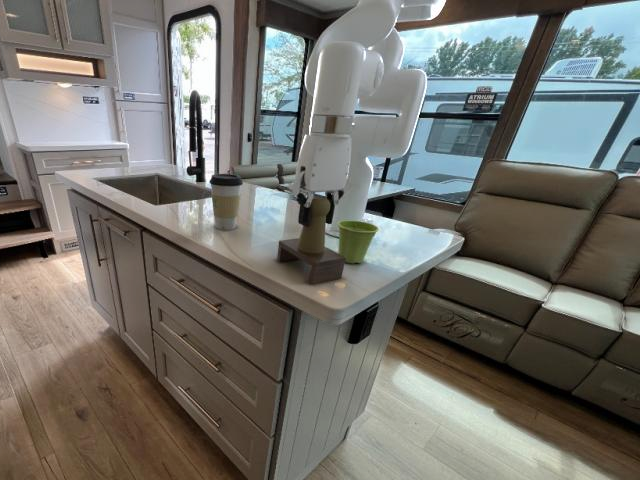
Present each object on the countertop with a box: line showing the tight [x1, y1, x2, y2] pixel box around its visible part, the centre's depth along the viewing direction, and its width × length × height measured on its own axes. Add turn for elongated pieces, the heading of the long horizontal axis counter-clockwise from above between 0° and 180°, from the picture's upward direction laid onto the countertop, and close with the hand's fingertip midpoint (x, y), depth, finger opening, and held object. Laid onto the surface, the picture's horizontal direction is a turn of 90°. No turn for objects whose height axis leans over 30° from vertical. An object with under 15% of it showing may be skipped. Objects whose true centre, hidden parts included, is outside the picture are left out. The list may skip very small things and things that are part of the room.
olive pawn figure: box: [297, 196, 330, 253], centre depth 68 cm, size 6×6×11 cm
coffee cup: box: [209, 173, 244, 231], centre depth 95 cm, size 10×10×15 cm
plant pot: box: [337, 220, 380, 264], centre depth 77 cm, size 9×9×9 cm
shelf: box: [276, 237, 346, 285], centre depth 72 cm, size 8×14×5 cm, turn 26°
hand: (314, 222), depth 68 cm, fingers closed on olive pawn figure, 5 cm apart
